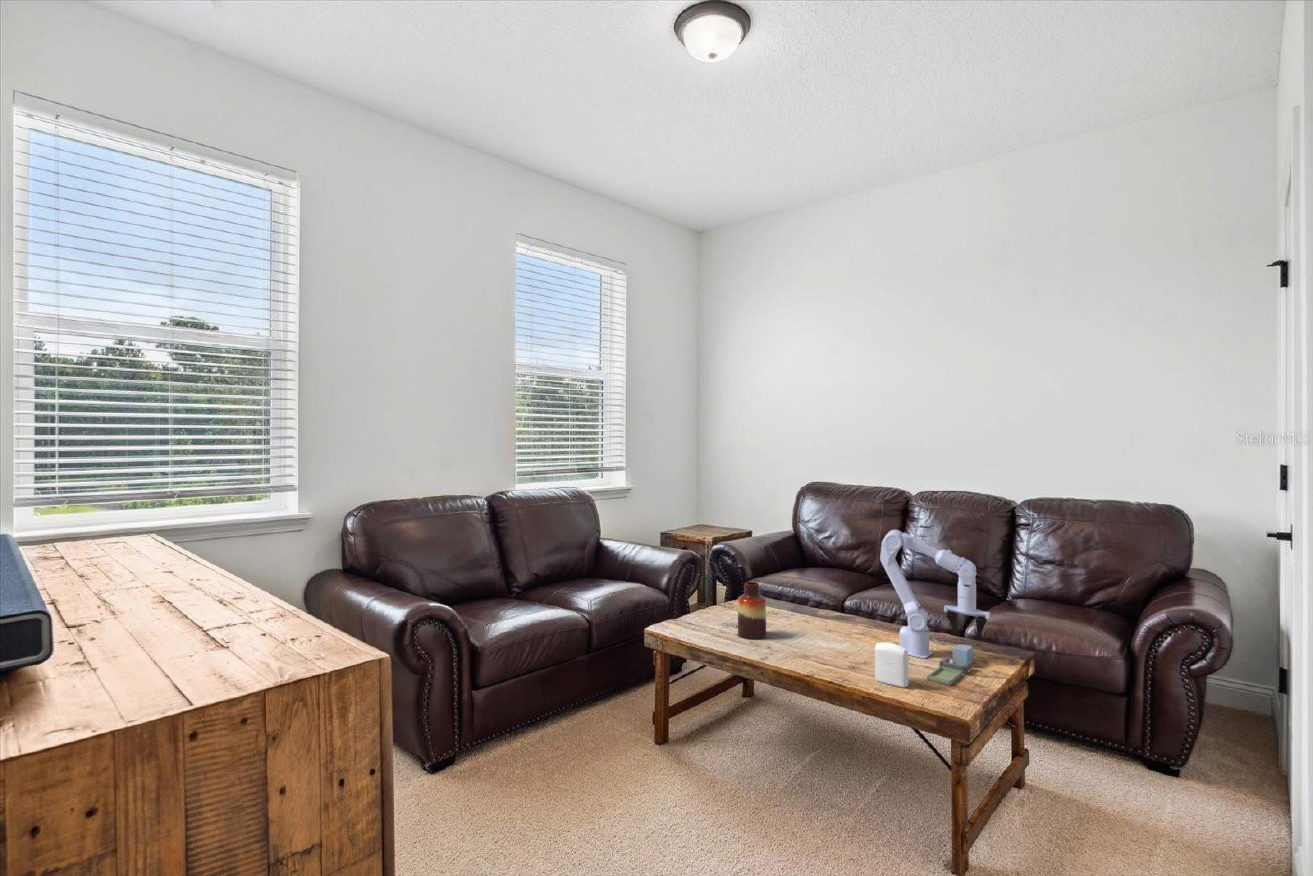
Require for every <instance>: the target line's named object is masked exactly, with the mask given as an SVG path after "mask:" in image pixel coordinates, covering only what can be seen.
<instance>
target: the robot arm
mask: <svg viewBox="0 0 1313 876" xmlns="http://www.w3.org/2000/svg"><path fill="white" fill-rule="evenodd" d="M901 548H902V550H909V549H913V550H915V551H917V552H919V553H922V554H924V555H926V556H927V557H931V559H934V562H935V564H936V565H937V566H938V565H939V566H940V567H942V568H944V569H946V570H947V571H950V572H951V573H954V574H955V573H956V574H957V575H958V582H957V605H948V604H946V605H944V606H943V613H946V618H947V619H948V622H949V623H950V624H949V625H950V626H951V629H952V634H953V635H957V634H958V617H959V615H963V616H965V615H966V616H969V617H970V616H972V617H976V619H975V623H976V624H975V625H976V639H977V640H980V639H981V638H982V633H983V630H984V627H985V624H986V623H987V621H988V620H989V619H991V612H990V611H985V610H982V609H981V610H980V609H979V608H978V609H977V583H976V580H977V578H976V576H977V568H976V564H975V563H973V562H972V561H971V560H970V559H966V558H965V557H963V556H962V557H960V556H959V555H956V554H954V553H952V550H951V549H947V550H946V549H940V550H939V549H936V547H935V548H934V547H933V546H931V545H929V544H927V543H926V542H923V541H922V540H920V539H918V538H917V537H914V536H913V535H911V534H908V533H906V532H902V531H901V530H899V529H891V530H889V531H888V532H887V534H886V535H885V536H884V538H883V539H882V541H881V547H880V556H879V557H880V558H879V560H880V562H881V565H882V567H883V568H884V570H885V572H886V574H887V577H888V578H889V579H890V582H891V584H892V586H893V588H894V590H895V592H896V594H897V596H898V597H899V599H900V601H901V603H902V605H903V608H904V609H903V610H904V611H905V614H906V615H905V616H906V617H907V626H905V625H902V626H901V628H900V631H899V634H898V635H899V639H898V640H899V644H898V645H899V646H902V647H904V648H905V649H907V651H908V656H911V657H917V658H919V659H920V658H921V659H927V658H929V657H930V656H931V655H933V654H934V651H930V628H929V626H928V625H927V624H928V619H929V613H928V611H927V610H926V609H925V608H923V607H922V605H921V603H920V602H919V601H918V599H916V596H915V594H914V592H913V591H912V588H911V587H910V585H909V583H908V581H907V580H906V577H905V575H904V573H903V572H902V570H901V568H900V565H899V564H898V562H897V560H896V557H897V554H898V552H899V550H900V549H901Z"/></svg>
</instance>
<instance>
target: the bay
mask: <svg viewBox="0 0 1313 876" xmlns="http://www.w3.org/2000/svg"><path fill="white" fill-rule="evenodd" d="M939 666H942V667H947V668H951V669H956V670H960V671H962V673H963V674H966V673H967V674H968V673H969V672H970V671H971V670H972V664H971V662H969V661H968V662H967V663H966V664H964V665H963V666H962V665H957V664H953V662H950V657H949V656H945V657H944V658H942V659H940V661H939ZM970 669H971V670H970ZM969 670H970V671H969ZM968 671H969V672H968ZM963 674H962V675H963ZM967 674H966V675H967Z"/></svg>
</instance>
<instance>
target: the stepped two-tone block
mask: <svg viewBox="0 0 1313 876" xmlns="http://www.w3.org/2000/svg"><path fill="white" fill-rule="evenodd" d="M973 657H974V656H973V645H970V644H966V643H963V644H957V645H955V646H954V647H952V663H953V664H957V665H962V666H963V665H964V664H966V663H967V662H968V661H969V662H971V663H972V664H973V660H974V659H973ZM972 659H973V660H972Z"/></svg>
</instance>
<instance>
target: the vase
mask: <svg viewBox="0 0 1313 876" xmlns="http://www.w3.org/2000/svg"><path fill="white" fill-rule="evenodd" d="M760 592H761V591H760V584H759V582H757V581H746V582H745V583H744V593H743V594H742V595H740V596H738V597H737V636H738V637H739V636H740V637H739V638H741V637H742V638H741V639H744V640H749V639H750V641H755V640H757V641H758V640H762V638H763V639H765V638H766V637H767V599H766V597H765V596H764V595H761V593H760ZM765 636H766V637H765ZM764 637H765V638H764Z"/></svg>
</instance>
